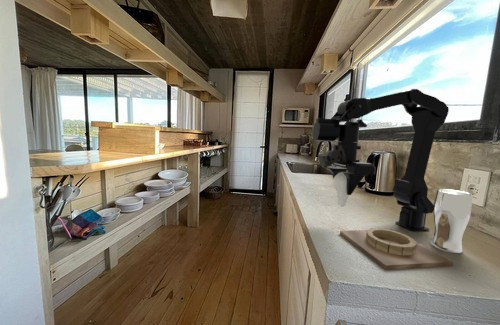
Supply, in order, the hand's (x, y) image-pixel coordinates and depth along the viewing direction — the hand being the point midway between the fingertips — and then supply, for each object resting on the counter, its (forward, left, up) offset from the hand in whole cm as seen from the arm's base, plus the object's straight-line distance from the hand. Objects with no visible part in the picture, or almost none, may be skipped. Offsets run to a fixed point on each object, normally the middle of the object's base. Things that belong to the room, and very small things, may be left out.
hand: (343, 192), depth 66 cm
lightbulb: (0, 0, -5) cm, 5 cm away
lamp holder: (-5, +14, -11) cm, 18 cm away
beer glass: (-21, +15, -11) cm, 28 cm away
